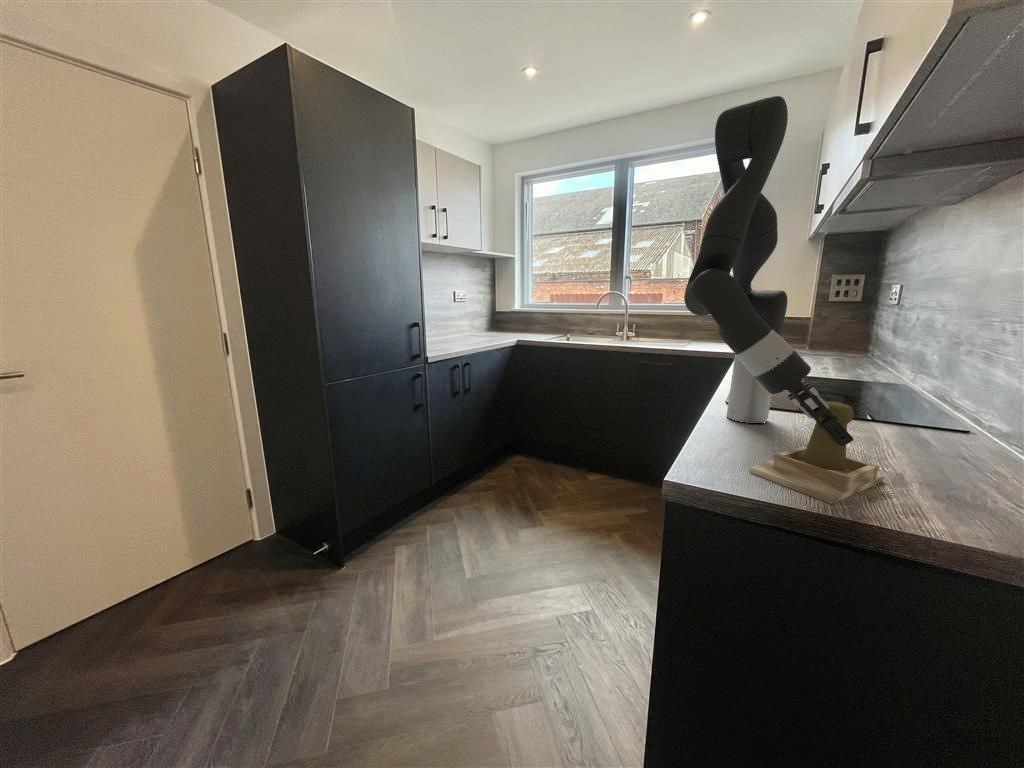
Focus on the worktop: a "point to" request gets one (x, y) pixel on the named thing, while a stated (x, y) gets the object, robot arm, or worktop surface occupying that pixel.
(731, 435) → the worktop surface
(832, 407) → the cork
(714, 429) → the worktop surface
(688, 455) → the worktop surface
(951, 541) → the worktop surface
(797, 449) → the stand
